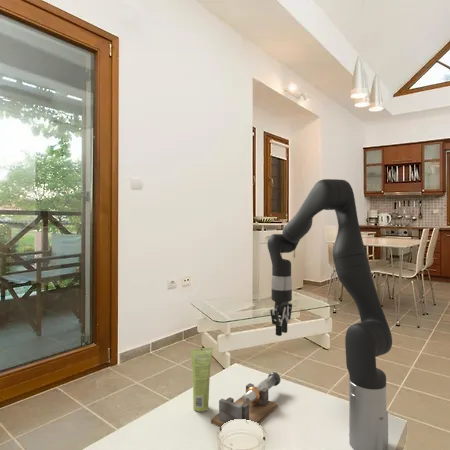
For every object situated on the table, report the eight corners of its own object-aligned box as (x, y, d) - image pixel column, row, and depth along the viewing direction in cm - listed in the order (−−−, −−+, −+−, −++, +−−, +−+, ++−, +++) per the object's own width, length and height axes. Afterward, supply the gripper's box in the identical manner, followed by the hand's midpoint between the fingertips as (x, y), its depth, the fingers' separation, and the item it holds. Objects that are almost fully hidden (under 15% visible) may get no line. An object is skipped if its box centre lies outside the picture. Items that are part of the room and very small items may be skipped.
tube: (200, 402, 118) (200, 344, 118) (212, 406, 116) (212, 346, 116) (189, 409, 114) (190, 349, 114) (202, 414, 111) (202, 352, 111)
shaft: (281, 386, 125) (281, 373, 125) (253, 409, 110) (253, 394, 110) (269, 383, 128) (269, 370, 128) (240, 405, 112) (240, 390, 112)
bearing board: (277, 407, 115) (277, 385, 115) (244, 437, 99) (244, 411, 99) (246, 396, 122) (246, 376, 122) (211, 423, 106) (211, 399, 106)
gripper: (282, 291, 123) (282, 340, 123) (298, 286, 135) (298, 331, 135) (263, 289, 127) (263, 336, 127) (281, 284, 139) (281, 327, 139)
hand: (281, 333), depth 131 cm, fingers open, 4 cm apart
